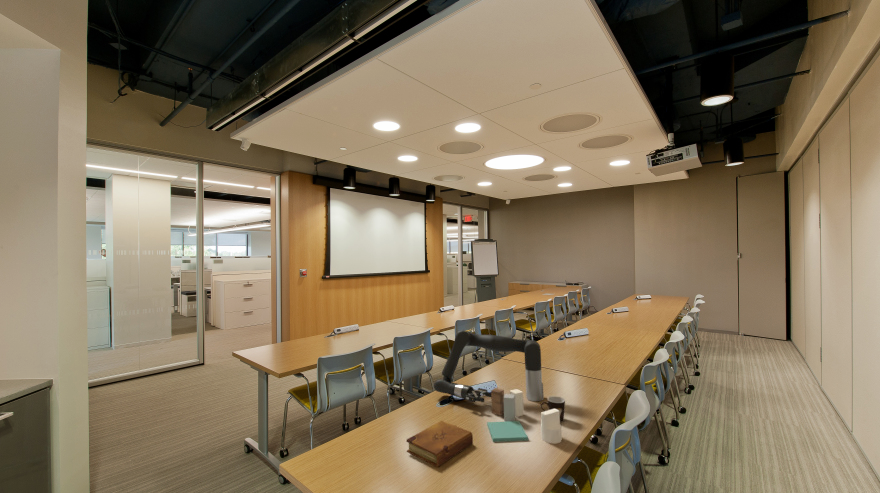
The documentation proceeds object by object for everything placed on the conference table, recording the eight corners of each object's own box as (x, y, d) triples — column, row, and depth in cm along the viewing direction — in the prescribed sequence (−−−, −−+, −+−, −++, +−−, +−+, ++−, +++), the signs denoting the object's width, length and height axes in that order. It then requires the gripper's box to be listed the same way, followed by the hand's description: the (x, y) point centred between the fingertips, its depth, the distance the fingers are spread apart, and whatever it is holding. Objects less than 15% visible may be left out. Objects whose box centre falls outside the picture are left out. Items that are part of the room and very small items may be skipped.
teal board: (519, 424, 174) (519, 420, 174) (528, 440, 158) (527, 437, 158) (487, 425, 173) (487, 422, 173) (493, 441, 157) (492, 438, 158)
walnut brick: (496, 409, 191) (495, 387, 192) (504, 412, 188) (503, 389, 188) (491, 413, 187) (491, 390, 188) (500, 415, 184) (499, 392, 185)
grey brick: (505, 417, 182) (504, 393, 183) (515, 418, 180) (514, 394, 181) (504, 421, 177) (503, 397, 178) (514, 422, 176) (513, 398, 176)
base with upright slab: (551, 445, 153) (550, 417, 154) (536, 436, 161) (535, 410, 162) (566, 440, 157) (564, 413, 158) (551, 431, 165) (550, 406, 166)
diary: (438, 469, 139) (437, 454, 139) (406, 453, 152) (406, 439, 152) (472, 445, 156) (472, 432, 156) (442, 432, 169) (441, 420, 169)
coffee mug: (566, 417, 180) (565, 397, 180) (565, 424, 172) (564, 403, 172) (543, 413, 185) (542, 394, 185) (540, 420, 177) (540, 400, 177)
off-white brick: (517, 411, 188) (516, 388, 189) (523, 414, 184) (522, 391, 184) (510, 413, 186) (509, 390, 187) (516, 417, 182) (515, 393, 182)
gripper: (456, 388, 196) (481, 394, 186) (470, 381, 207) (494, 386, 197) (457, 402, 196) (481, 409, 186) (471, 394, 207) (494, 400, 197)
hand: (488, 397), depth 192 cm, fingers open, 8 cm apart
